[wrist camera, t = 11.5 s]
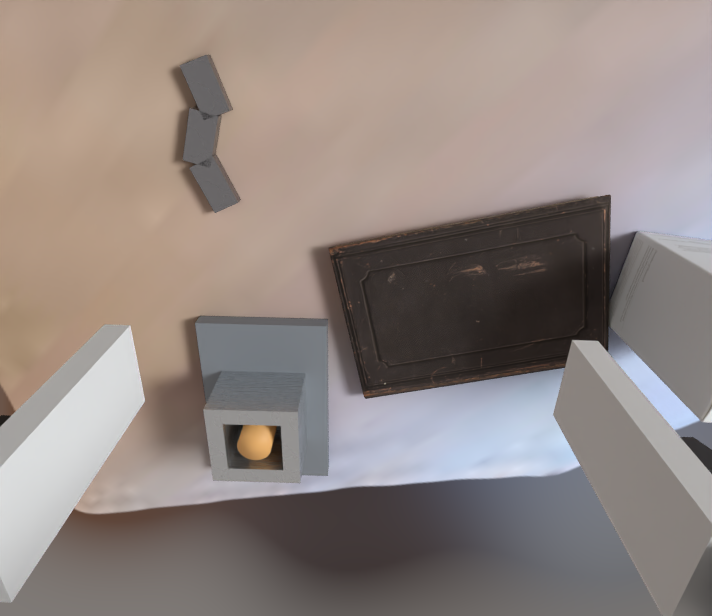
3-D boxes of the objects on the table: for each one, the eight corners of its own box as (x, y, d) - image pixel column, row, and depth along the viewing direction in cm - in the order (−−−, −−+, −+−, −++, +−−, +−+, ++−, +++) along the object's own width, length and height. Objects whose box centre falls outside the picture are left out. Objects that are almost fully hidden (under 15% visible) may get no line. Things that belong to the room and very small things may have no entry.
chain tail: (173, 54, 37) (169, 53, 36) (228, 55, 37) (225, 55, 36) (193, 209, 42) (189, 212, 41) (241, 210, 42) (239, 213, 41)
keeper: (200, 315, 46) (171, 357, 39) (327, 318, 46) (321, 361, 39) (219, 462, 54) (198, 518, 47) (328, 465, 54) (323, 522, 47)
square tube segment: (221, 370, 47) (203, 409, 42) (305, 373, 47) (297, 412, 42) (229, 436, 50) (213, 480, 45) (307, 439, 50) (300, 483, 45)
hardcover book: (330, 240, 43) (328, 249, 41) (598, 189, 41) (611, 195, 39) (365, 388, 50) (365, 402, 48) (597, 352, 48) (608, 364, 46)
